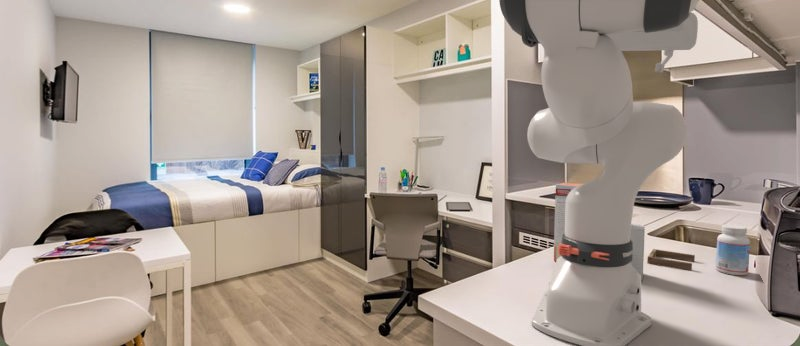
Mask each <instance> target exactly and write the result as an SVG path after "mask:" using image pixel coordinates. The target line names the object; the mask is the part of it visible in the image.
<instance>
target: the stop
mask: <svg viewBox="0 0 800 346" xmlns="http://www.w3.org/2000/svg"><path fill="white" fill-rule="evenodd" d="M660 257H661V258H660ZM695 257H696V256H695V254H689V253H682V252H678V251H670V250H663V249H662V250H661V249H655V248H653V249H652V250H651V252H650V253H649V254H648V256H647V264H650V265H656V266H664V267H668V268H669V267H670V268H674V269H681V270H686V271H692V270H693V263H691V262H695ZM674 259H675V260H674ZM679 260H681V261H679ZM685 261H686V262H685Z"/></svg>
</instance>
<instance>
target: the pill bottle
mask: <svg viewBox="0 0 800 346" xmlns="http://www.w3.org/2000/svg"><path fill="white" fill-rule="evenodd" d="M747 228H748V227H746V226H742V225H735V224H722V225H721V229H720V230H721V232H722V233H721V234H719V235H718V236H717V239H716V253H715V255H716V256H715V270H716V271H718V272H720V273H723V274H726V275H731V276H746V275H748V274H749V267H750V266H749V265H750V264H749V262H750V250H751V241H750V238H749V237H747V236H746V235H747V233H748V232H747V231H748V229H747Z"/></svg>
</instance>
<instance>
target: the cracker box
mask: <svg viewBox="0 0 800 346" xmlns="http://www.w3.org/2000/svg"><path fill="white" fill-rule="evenodd" d="M582 184H583V183H576V182H575V183H574V182H573V183H572V182H561V183H556V184H555V197H554V198H555V199H554V200H555V201H554V202H555V203H554V232H553V233H554V235H553V237H554V238H553V261H554V262H556V260H557V259H558V258H559V257H561V255H559V253H558V247H559V244H561V240H562V235H563V234H564V233H565V204H566V198H567V196H568V194H569V193H570V191H571V190H572V189H574V188H575V187H577V186H579V185H582Z"/></svg>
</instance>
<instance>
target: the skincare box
mask: <svg viewBox="0 0 800 346" xmlns="http://www.w3.org/2000/svg"><path fill="white" fill-rule="evenodd" d="M645 230H646V229H645V225H644V224H637V223H631V234H630V239H631V240H632V242H633V256H632V261H631V264H632V266H633V267H634V269H635V270H636V271H637V272H638V273H639V274H640V275H641V282H642V281H643V279H644V259H645V258H644V257H645V255H644V254H645Z"/></svg>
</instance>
